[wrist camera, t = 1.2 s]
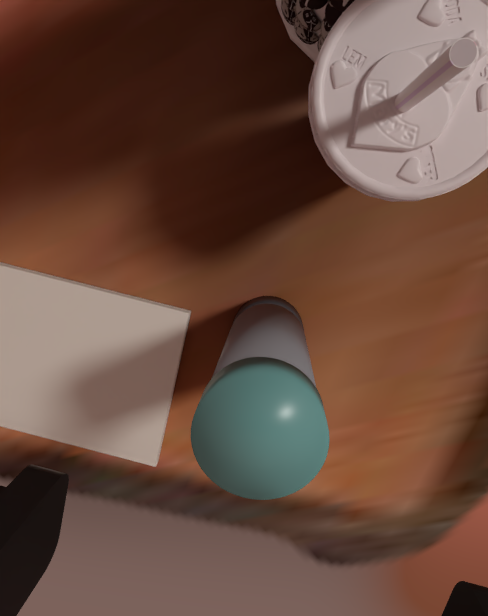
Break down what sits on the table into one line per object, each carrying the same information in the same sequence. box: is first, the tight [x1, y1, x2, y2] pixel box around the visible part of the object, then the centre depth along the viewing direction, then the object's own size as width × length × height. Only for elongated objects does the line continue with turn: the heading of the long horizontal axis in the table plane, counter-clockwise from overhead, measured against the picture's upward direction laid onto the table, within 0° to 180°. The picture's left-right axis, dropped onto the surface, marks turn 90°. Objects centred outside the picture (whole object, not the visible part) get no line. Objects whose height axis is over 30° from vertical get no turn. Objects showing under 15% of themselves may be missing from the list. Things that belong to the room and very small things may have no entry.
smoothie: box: [308, 0, 488, 201], centre depth 15 cm, size 6×6×14 cm
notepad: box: [0, 262, 191, 467], centre depth 26 cm, size 10×15×1 cm, turn 76°
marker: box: [191, 296, 329, 500], centre depth 19 cm, size 4×4×12 cm
